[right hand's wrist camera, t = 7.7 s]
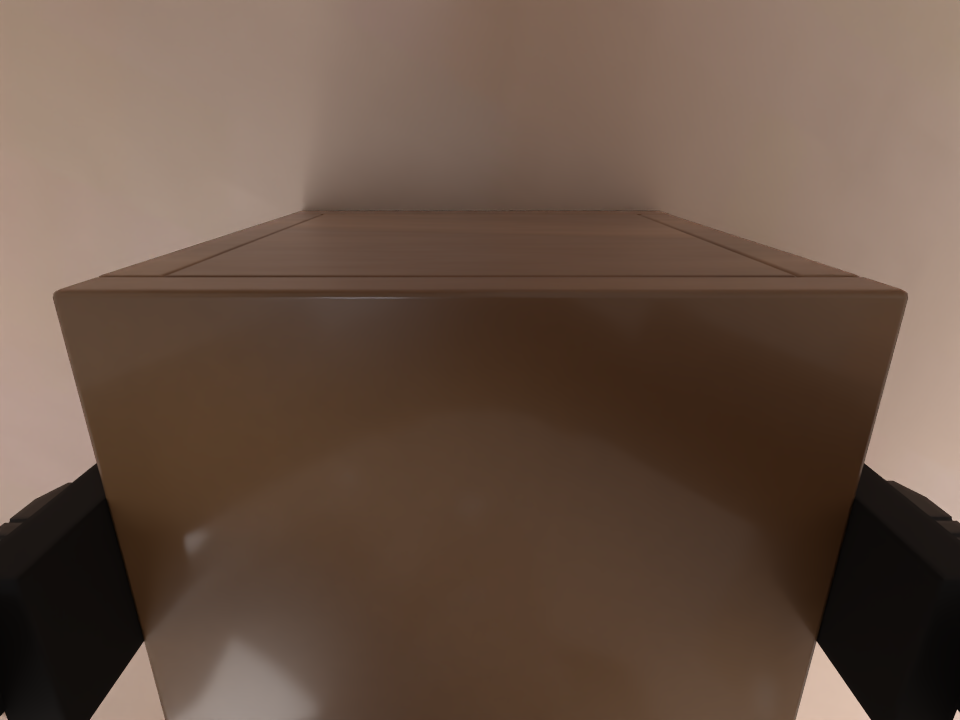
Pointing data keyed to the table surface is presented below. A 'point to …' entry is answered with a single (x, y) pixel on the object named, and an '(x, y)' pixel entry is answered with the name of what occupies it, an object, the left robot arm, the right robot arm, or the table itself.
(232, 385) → the cabinet
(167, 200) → the table surface
